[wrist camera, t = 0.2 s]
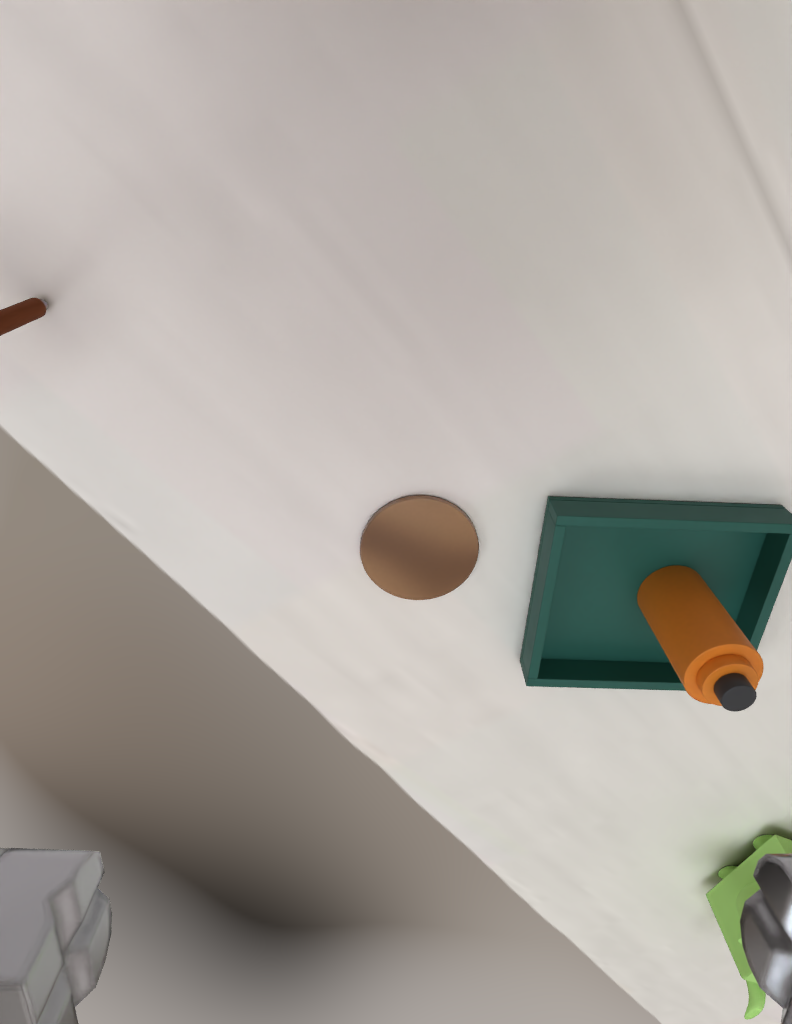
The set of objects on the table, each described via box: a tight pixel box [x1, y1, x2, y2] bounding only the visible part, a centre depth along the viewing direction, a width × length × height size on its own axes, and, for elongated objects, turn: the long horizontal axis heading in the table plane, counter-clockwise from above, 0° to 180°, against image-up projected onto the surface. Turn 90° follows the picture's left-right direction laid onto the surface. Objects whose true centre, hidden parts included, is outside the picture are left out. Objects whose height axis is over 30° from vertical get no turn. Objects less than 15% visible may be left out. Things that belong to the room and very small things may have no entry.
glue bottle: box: [637, 565, 763, 711], centre depth 47 cm, size 5×5×12 cm
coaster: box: [360, 495, 479, 600], centre depth 51 cm, size 9×9×1 cm
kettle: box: [706, 835, 792, 1019], centre depth 65 cm, size 15×14×11 cm
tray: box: [520, 496, 792, 691], centre depth 52 cm, size 16×18×3 cm
